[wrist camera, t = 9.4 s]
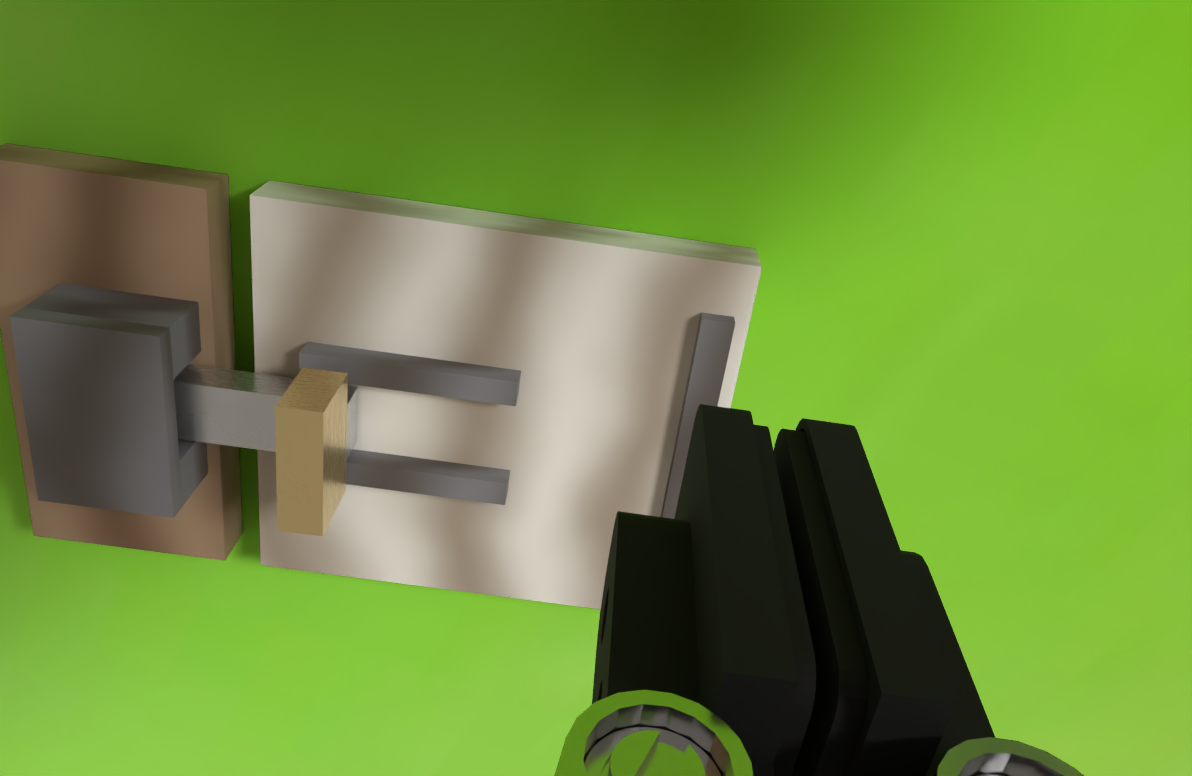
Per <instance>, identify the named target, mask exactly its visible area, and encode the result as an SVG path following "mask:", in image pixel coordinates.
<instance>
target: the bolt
mask: <svg viewBox="0 0 1192 776" xmlns="http://www.w3.org/2000/svg"><path fill="white" fill-rule="evenodd" d="M174 391H175V405H176V418H177V432H178V439H183V440H190V441H198V442H205V443H213V444H220V445H228V446H235V447H243V448H250V449H258V450H265V451H273V452H276V487H277V531H285V532H292V533H300V534H308V535H315V536H323V535H324V533H325V531H326V529H327V527H328V525H329V523H330V521H331V519H332V517H333V515H334V513H335V511H336V509H337V507H338V505H339V503H340V501H341V499H342V497H343V495H344V493H345V491H346V461H347V459H348V457H349V455H350V453H351V451H352V449H353V447H354V446H355V444H356V442H357V408H358V387H356V386H349V385H348V373H342V372H335V371H327V370H320V369H313V368H305V367H303V368H302V370H301V371H300V372H299V374H298V375H297V376H296V378H290V377H282V376H275V375H267V374H260V373H253V372H245V371H238V370H230V369H223V368H216V367H208V366H201V365H193V364H188V365H187V366H186V367H185V368H184V369H183V370H182V371H181V372H180V373H179V374H178V375H177V376H176V377H175V378H174Z"/></svg>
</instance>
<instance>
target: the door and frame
mask: <svg viewBox="0 0 1192 776" xmlns="http://www.w3.org/2000/svg"><path fill="white" fill-rule="evenodd" d="M250 225H251V258H252V291H253V324H254V356H255V373H260V374H267V375H275V376H282V377H290V378H296V376H297V375H298V374H299V372H300V371H301V370H302V368H303V367H305V368H313V369H320V370H327V371H335V372H342V373H348V385H349V386H356V387H358V408H357V442H356V444H355V446H354V447H353V449H352V451H351V453H350V455H349V457H348V459H347V461H346V491H345V493H344V495H343V497H342V499H341V501H340V503H339V505H338V507H337V509H336V511H335V513H334V515H333V517H332V519H331V521H330V523H329V525H328V527H327V529H326V531H325V533H324V535H323V536H315V535H308V534H300V533H292V532H285V531H277V487H276V452H273V451H265V450H258V449H257V455H258V488H259V521H260V553H261V565H264V566H271V567H279V568H287V569H295V570H302V571H310V572H318V573H325V574H333V575H341V576H349V577H356V578H364V579H372V580H379V581H387V582H395V583H402V584H410V585H418V586H426V587H433V588H441V589H449V590H456V591H464V592H472V593H480V594H487V595H495V596H503V597H510V598H518V599H526V600H534V601H541V602H549V603H557V604H564V605H572V606H580V607H587V608H595V609H601V604H602V597H603V590H604V582H605V576H606V570H607V564H608V558H609V552H610V546H611V540H612V534H613V529H614V523H615V519H616V514H617V512H618V511H621V512H628V513H635V514H642V515H649V516H657V517H664V518H671V519H674V518H675V513H676V508H677V503H678V498H679V493H680V488H681V484H682V479H683V474H684V469H685V464H686V459H687V454H688V449H689V445H690V440H691V435H692V430H693V425H694V421H695V416H696V412H697V409H698V407H699V405H700V404H703V405H710V406H718V407H725V408H730V407H731V403H732V398H733V394H734V389H735V385H736V380H737V376H738V371H739V367H740V363H741V358H742V354H743V349H744V345H745V340H746V336H747V331H748V327H749V322H750V318H751V313H752V309H753V305H754V300H755V296H756V291H757V287H758V282H759V278H760V273H761V269H762V266H761V263H760V260H759V257H758V255H757V252H756V249H752V248H745V247H738V246H731V245H724V244H717V243H710V242H703V241H696V240H689V239H682V238H674V237H667V236H660V235H653V234H646V233H639V232H632V231H625V230H618V229H611V228H603V227H596V226H589V225H582V224H575V223H568V222H561V221H554V220H547V219H540V218H533V217H525V216H518V215H511V214H504V213H497V212H490V211H483V210H476V209H469V208H462V207H454V206H447V205H440V204H433V203H426V202H419V201H412V200H405V199H398V198H391V197H384V196H376V195H369V194H362V193H355V192H348V191H341V190H334V189H327V188H320V187H313V186H305V185H298V184H291V183H284V182H277V181H270V180H269V181H268V182H267V183H265V184H264V185H262V186H261V187H260V188H258V189H257V190H256V191H254V192H253V193H252V194H250ZM0 328H1V334H2V340H3V347H4V353H5V359H6V365H7V372H8V378H9V384H10V390H11V396H12V403H13V409H14V415H15V421H16V428H17V434H18V440H19V446H20V452H21V459H22V465H23V471H24V477H25V484H26V490H27V496H28V502H29V508H30V515H31V521H32V527H33V533H34V536H40V537H48V538H56V539H63V540H71V541H79V542H86V543H94V544H102V545H110V546H117V547H125V548H133V549H140V550H148V551H156V552H164V553H171V554H179V555H187V556H194V557H202V558H210V559H217V560H226V558H227V557H228V555H229V554H230V552H231V551H232V549H233V547H234V546H235V544H236V543H237V541H238V539H239V538H240V536H241V535H242V533H243V529H242V504H241V479H240V455H239V447H235V446H228V445H220V444H213V443H205V442H198V441H190V440H183V439H178V432H177V418H176V405H175V391H174V378H175V377H176V376H177V375H178V374H179V373H180V372H181V371H182V370H183V369H184V368H185V367H186V366H187V365H188V364H193V365H201V366H208V367H216V368H223V369H230V370H236V356H235V331H234V306H233V281H232V256H231V232H230V207H229V182H228V175H227V174H220V173H213V172H206V171H199V170H192V169H185V168H178V167H171V166H164V165H156V164H149V163H142V162H135V161H128V160H121V159H114V158H107V157H100V156H93V155H86V154H78V153H71V152H64V151H57V150H50V149H43V148H36V147H29V146H22V145H15V144H4V145H2V146H0Z"/></svg>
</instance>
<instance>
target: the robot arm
mask: <svg viewBox="0 0 1192 776" xmlns="http://www.w3.org/2000/svg"><path fill="white" fill-rule="evenodd" d="M555 776H1084V775H1083V774H1081V773H1080V772H1079V771H1078V770H1077V769H1075V768H1074V767H1072V766H1070V765H1069V764H1067V763H1065V762H1064V761H1062V760H1060V759H1058V758H1057V757H1055V756H1053V755H1051V754H1050V753H1048V752H1046V751H1043V750H1041V749H1038V748H1035V747H1033V746H1030V745H1027V744H1024V743H1022V742H1019V741H1014V740H1007V739H1000V738H995V736H994V733H993V731H992V728H991V726H990V723H989V720H988V718H987V715H986V713H985V710H984V708H983V705H982V703H981V700H980V698H979V695H978V693H977V690H976V687H975V685H974V682H973V680H972V677H971V675H970V672H969V670H968V667H967V665H966V662H965V660H964V657H963V655H962V652H961V649H960V647H959V644H958V642H957V639H956V637H955V634H954V632H953V629H952V627H951V624H950V622H949V619H948V616H947V614H946V611H945V609H944V606H943V604H942V601H941V599H940V596H939V594H938V591H937V589H936V586H935V584H934V581H933V578H932V576H931V573H930V571H929V568H928V566H927V564H926V562H925V561H924V559H923V557H922V556H920V555H919V554H917V553H915V552H907V551H900V548H899V545H898V542H897V540H896V537H895V534H894V531H893V529H892V526H891V523H890V520H889V518H888V515H887V512H886V509H885V507H884V504H883V501H882V498H881V495H880V493H879V490H878V487H877V484H876V482H875V479H874V476H873V473H872V471H871V468H870V465H869V462H868V460H867V457H866V454H865V451H864V449H863V446H862V443H861V440H860V438H859V435H858V432H857V430H856V428H855V427H854V426H852V425H846V424H838V423H831V422H824V421H817V420H810V419H802V420H801V421H800V422H799V424H798V426H797V428H796V431H795V430H788V429H781V430H780V432H779V434H778V436H777V440H776V443H775V447H774V451H773V447H772V442H771V437H770V432H769V429H768V427H766V426H759V425H753V420H752V415H751V412H750V411H746V410H739V409H732V408H725V407H718V406H710V405H703V404H700V405H699V407H698V409H697V412H696V416H695V421H694V425H693V430H692V435H691V440H690V445H689V449H688V454H687V459H686V464H685V469H684V474H683V479H682V484H681V488H680V493H679V498H678V503H677V508H676V513H675V518H674V519H671V518H664V517H657V516H649V515H642V514H635V513H628V512H621V511H618V512H617V514H616V519H615V523H614V529H613V534H612V540H611V546H610V552H609V558H608V564H607V570H606V576H605V582H604V590H603V597H602V604H601V612H600V620H599V629H598V639H597V650H596V662H595V675H594V687H593V699H592V705H591V706H590V707H589V708H588V709H586V710H585V711H584V712H583V713H582V714H581V715H579V716H578V717H577V718H576V720H575V722H574V724H573V726H572V728H571V730H570V731H569V733H568V735H567V737H566V739H565V743H564V746H563V749H562V753H561V756H560V759H559V762H558V766H557V769H556V772H555Z"/></svg>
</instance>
